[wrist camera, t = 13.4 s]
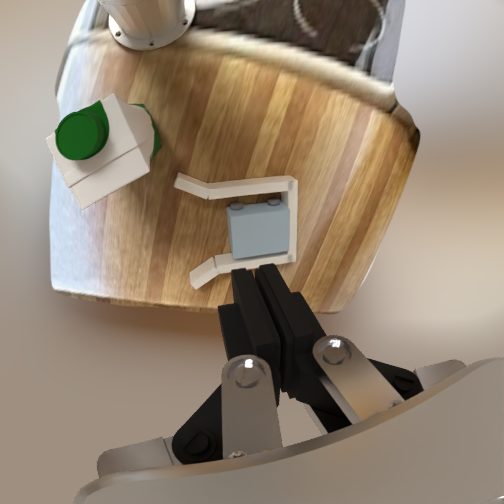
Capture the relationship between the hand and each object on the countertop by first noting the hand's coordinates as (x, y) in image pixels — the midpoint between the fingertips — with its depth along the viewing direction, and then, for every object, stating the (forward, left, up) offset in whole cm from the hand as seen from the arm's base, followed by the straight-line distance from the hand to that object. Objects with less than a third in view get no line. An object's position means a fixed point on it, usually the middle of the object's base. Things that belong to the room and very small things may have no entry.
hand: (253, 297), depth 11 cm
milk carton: (-5, -10, -33) cm, 35 cm away
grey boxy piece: (+12, +8, -33) cm, 36 cm away
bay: (+11, +5, -33) cm, 35 cm away
